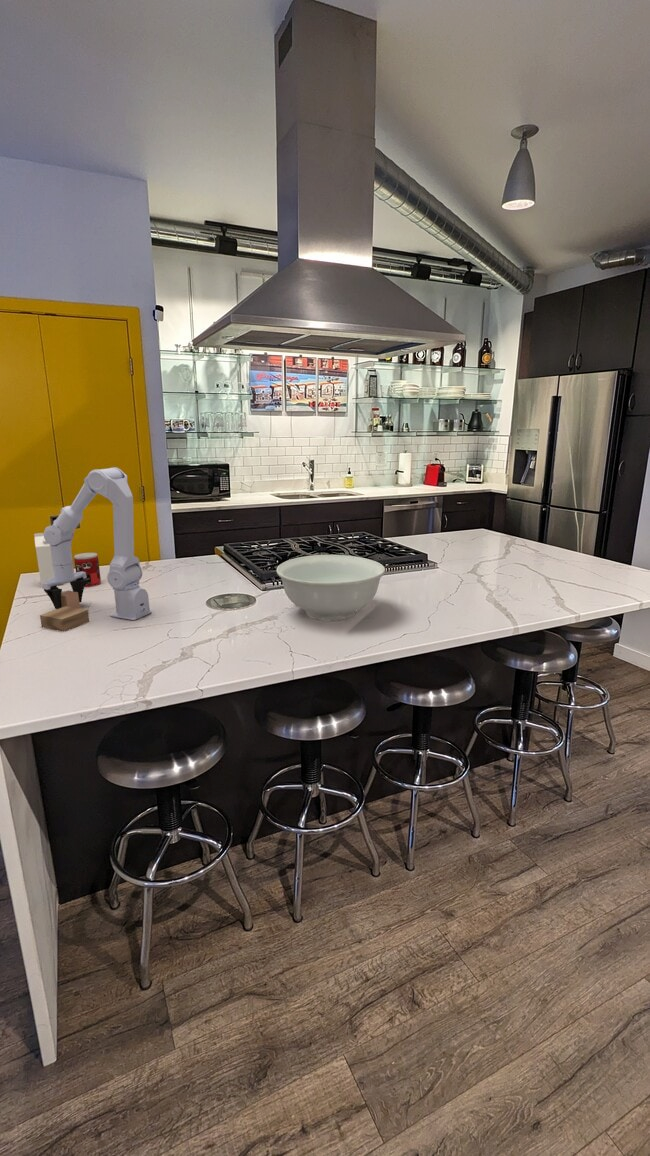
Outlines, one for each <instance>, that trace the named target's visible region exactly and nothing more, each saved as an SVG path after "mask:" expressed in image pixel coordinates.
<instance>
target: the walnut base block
mask: <svg viewBox="0 0 650 1156" xmlns="http://www.w3.org/2000/svg"><path fill="white" fill-rule="evenodd" d="M39 619H40V625H41V628H43V627H44V629H49V630H53V631H57V630H58V631H59V632H62V631H63V632H64V631H65V632H67V631H69V629H70V630H72V629H74V628H75V629H76V628H77V627H80V626H82V625H84V624H87V623H90V616H89V610H88V609H86V608H85V609H84V608H81V607H80V608H74V607H68V606H65V607H62V608H59V609H53V610H50V611H49V612H45V613H42V614H40V615H39ZM63 632H62V633H63Z"/></svg>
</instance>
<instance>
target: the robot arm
mask: <svg viewBox="0 0 650 1156" xmlns="http://www.w3.org/2000/svg"><path fill="white" fill-rule="evenodd" d="M83 481H84V483H83V485H82V487H81V488H80V490H79V492H78V494H77V495H76V496H75V498H74V500H73V502H72V504H71V505H67V506H64V507H62V508H61V509H59V511H60V513H59V515H58V517H56V519H54V520H53V521H52V522H53V523H52V525H48V526H46V527H45V528H44V531H43V533H44V539H45V541H46V542H47V543H48V544H50V551H51V558H52V565H53V571H54V577H53V579H51V580H49V581H46V582H44V583H42V584H43V587H42V589H43V591H44V592H45V594H46V595H47V596H48V597H49V598H50V599H49V600H50V601H51V602H52V605H53V607H54V610H56V609H59V608H62V603H61V593H62V592H63V589H62V588H59V586H63V585H65V584H69V583H70V586H71V589H72V590H71V591H73V592H78V596H79V604H80V603H82V600H83V593H84V590H85V588H86V587H85V585H86V583H87V580H86V579H83V578H86V572H77V573H76V572H75V566H74V562H73V561H74V560H73V554H72V545H73V544H72V542H73V541H72V540H73V539H74V535H75V534H74V532H75V530H76V528H77V527H78V526H79V524H80V523H81V521H82V520H83V518H84V515H83V514H84V513H83V511H84V510H85V509H86V508H87V507H88V505H89V504H90V503H91V502H92V500H93V499H94V498H95V497H96V495H98V494H99V495H101V496H103V497H104V498H106V499H108V500H109V501H110V502H111V503H112V512H113V513H112V517H113V518H112V519H113V520H112V522H113V547H114V552H113V553H114V555H113V558H112V559H111V562H110V563H109V570H108V573H106V574H107V576H106V579H107V582H108V584H109V585H110V587H112V590H113V593H114V602H115V610H116V612H113V613H111V614H110V617H112V618H113V617H114V618H118V619H124V620H128V621H136V620H138V619H141V618H143V617H145V616H148V615H149V614H152V613H153V611H152V610H150V609H151V608H150V602H149V601H150V600H149V594H148V591H147V590H146V589H144V588H142V587H141V586H140V580H141V579H142V577H143V570H142V567H141V565H140V563H141V562H140V558H138V557H137V556H135V538H134V537H135V536H134V535H135V534H134V529H135V527H134V497H133V493H132V491H131V488H130V486H129V483H128V475H127V474H126V473H125V472H123V470H122V469H121V468H119V467H115V466H111V467H109V468H101V469H92V470H91V471H90V472H88V474H87V476H85V478H84V479H83ZM62 584H63V585H62Z"/></svg>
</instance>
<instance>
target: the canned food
mask: <svg viewBox="0 0 650 1156" xmlns="http://www.w3.org/2000/svg"><path fill="white" fill-rule="evenodd" d="M73 558H74V560H73V561H74V562H73V563H74V570H75V573H77V572H86V578H83V579H86V580H87V583H86V585H85V587H84V588H91V587H96V586H98V585H100V584H101V582H102V579H101V573H100V572H101V570H100V562H99V555H98V553H96V552H84V553H77V554H74V556H73Z"/></svg>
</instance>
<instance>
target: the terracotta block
mask: <svg viewBox="0 0 650 1156" xmlns="http://www.w3.org/2000/svg"><path fill="white" fill-rule="evenodd" d="M61 603H62V607H65V606H68V607H74V608H80V609H81V604H80V603H79V596H78V592H73V590H65V591H62V593H61Z"/></svg>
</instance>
